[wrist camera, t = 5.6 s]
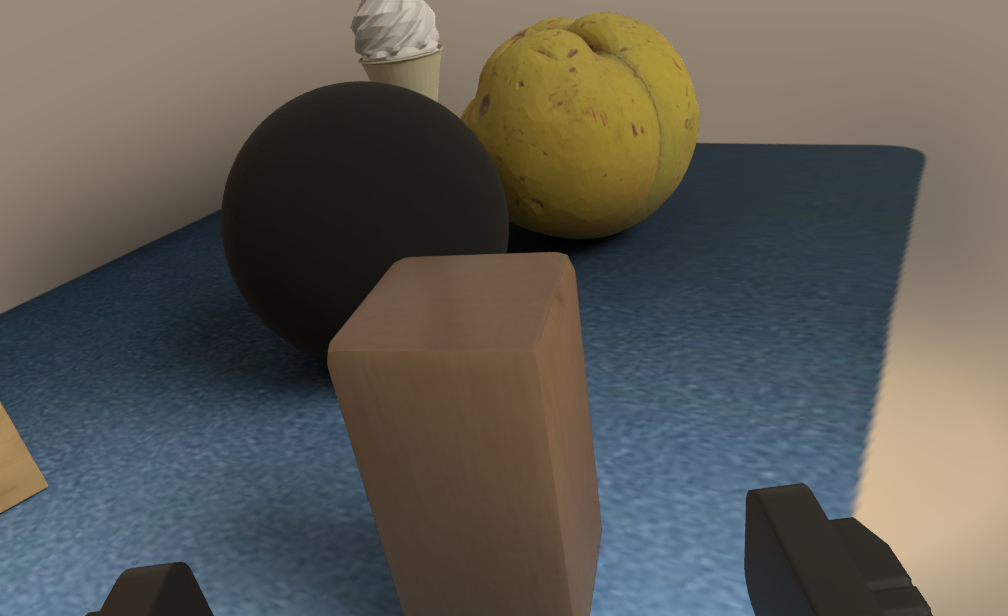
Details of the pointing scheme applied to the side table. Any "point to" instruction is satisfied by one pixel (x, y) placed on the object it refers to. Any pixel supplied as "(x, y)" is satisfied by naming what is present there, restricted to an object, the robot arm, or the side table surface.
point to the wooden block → (475, 433)
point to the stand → (16, 466)
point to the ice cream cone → (399, 44)
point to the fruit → (585, 123)
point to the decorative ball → (352, 203)
